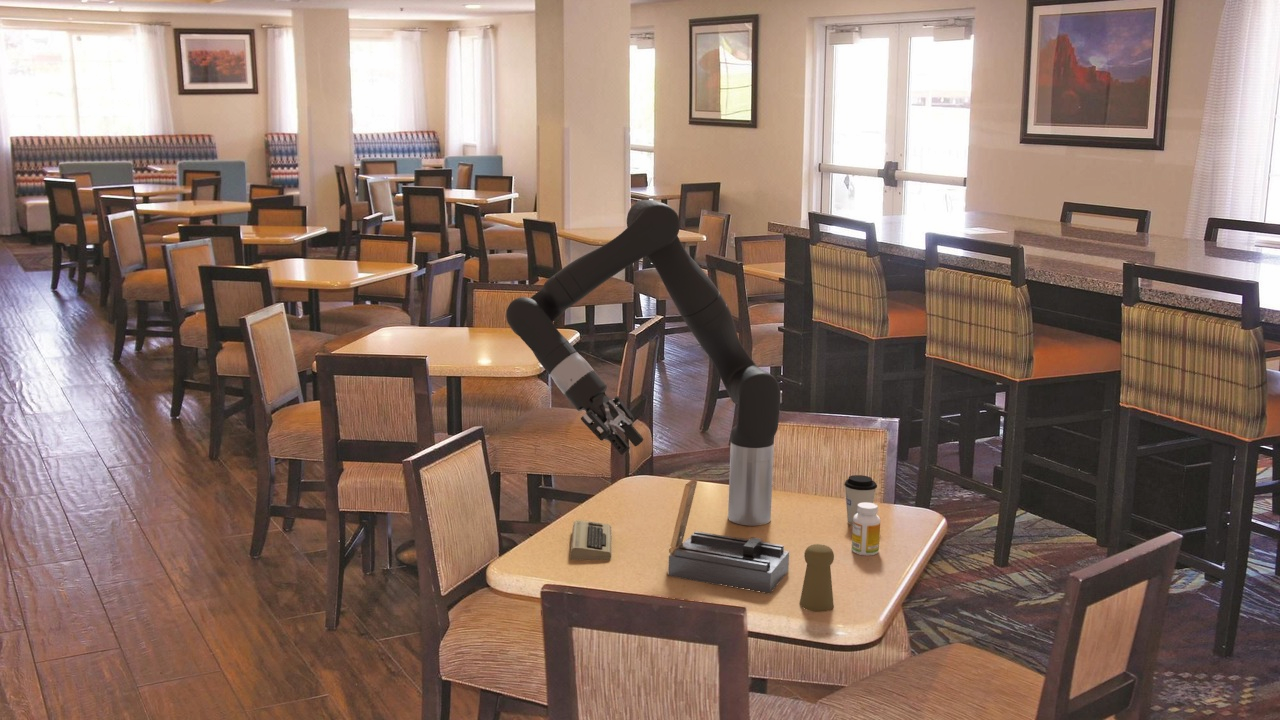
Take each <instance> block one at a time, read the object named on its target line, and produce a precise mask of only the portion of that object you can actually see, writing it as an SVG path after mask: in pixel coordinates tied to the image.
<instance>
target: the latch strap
mask: <svg viewBox="0 0 1280 720" xmlns="http://www.w3.org/2000/svg"><path fill="white" fill-rule="evenodd" d="M697 483H698V480H696V479H695V478H694V479H690V481H687V483H685V484H684V489H683V493H682V496H681V501H680V506H679V509H678V513H677V516H676V522H675V526H674V530H673V534H672V538H671V542H670V548H669V550H668V553H669V555H670V554H671V553H672V552H673V551H675V549H677V548H678V546H680V545H681V544H682V543H684V538H685V533H686V530H687V526H688V520H689V516H690V513H691V508H692V505H693V500H694V496H695V493H696V489H697Z"/></svg>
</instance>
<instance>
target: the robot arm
mask: <svg viewBox="0 0 1280 720" xmlns="http://www.w3.org/2000/svg"><path fill="white" fill-rule="evenodd" d="M626 216H627V217H626V228H625V230H623V231H622V232H621V233H620V234H618V236H616V237H615V238H613V239H612V240H610V241H608V242H607V243H605V244H603V245H601V246H600V247H598V248H596V249H594V250H592V251H590V252H587V253H585V254H584V255H582V256H580V257H578V258H576V259H575V260H573V261H572V262H570V263H569V264H567V265H566V266H564V267H563V268H562V269H560V270H558V271H557V272H556V273H555V274H554V275H551V276H550V277H549V278H548V279H546V281H545V282H544V283H543V285H542V287H541V289H540V290H539V291H537V292H536V293H535V294H533V295H531V296H530V297H527V296H526V297H525V296H520V297H518V298H514V299H513V300H512V301H511V302H510V303H509V304H508V306H507V309H506V314H505V315H506V316H505V319H506V322H507V324H508V325H509V327H510V328H511V331H512V332H513V333H514V334H515V335H517V336H518V337H520V339H521V340H522V341H523V343H525V344H526V346H528V348H529V349H530V350H531V351H532V352H533V355H534V357H535V358H536V360H537V361H538V362H539V364H540V365H541V366H542V367H543V369H544V370H545V371H546V373H548V375H549V376H550V377H551V379H552V380H553V382H554V384H555V385H556V386H557V388H558V389H559V390H560V391H561V393H562V394H563V395H564V396H565V398H567V400H568V401H569V402H570V404H571V405H572V406H573V407H574V408H575V409H576V411H578V412H579V411H580V412H581V411H585V413H584V414H583V415H581V417H580V420H581V422H583V424H584V425H585V426H586V427H587V428H588V429H589V430H590V431H591V432H592V433H593V434H594V436H596V437H597V439H598V440H600V441H604V440H605V441H606V442H610V444H611V445H612V447H614V448H615V450H616V451H617V452H618V453H619V454H620V455H621V456H623V455H625V454H626V453H627V452H628V451H629V450H631V449H630V446H629V444H628V442H627V441H625V439H624V438H623V437H622V436H621V435H620V433H618V432H617V429H616V428H618V429H619V430H620V431H622V432H623V434H624V435H625V437H626V438H627V439H628V440H629V442H630V443H631V444H632V445H633V446H634V447H638V446H639V445H640V444H641V443H642V442H643V441H644V437H643V436H642V435H641V434H640V432H638V430H637V429H636V428H635V427H634V423H633V422H634V421H635V417H634V416H633V414H632V412H631V411H630V410H629V409H628V407H627V406H626V405H625V403H624V402H623V401H622V399H621V398H620V397H619V396H617V395H616V396H615V397H614V398H613V399H611V398H610V397H609V396H608V395H607V394H606V391H607V390H608V384H606V383H605V381H604V380H603V379H602V377H600V375H599V374H598V373H597V372H596V371H595V370H594V368H593V367H592V366H591V364H590V363H589V362H588V361H587V360H586V359H585V358H584V357H583V356H582V355H581V354H579V352H578V351H577V350H576V349H575V348H574V346H573V345H572V344H571V343H570V341H569V340H568V339H567V338H566V337H565V336H564V335H563V334H562V333H561V332H560V331H559V330H558V328H557V327H556V326H555V324H554V322H555V321H556V320H557V319H558V318H559V317H560V316H561V315H562V314H563V313H564V312H565V311H566V310H568V309H569V308H571V307H572V306H574V305H575V304H576V303H578V302H580V301H581V300H582V299H583V298H585V297H586V296H588V295H589V294H590V293H592V292H593V291H595V289H597V288H598V287H599V286H601V285H602V284H604V283H605V282H607V281H608V280H609V279H611V278H612V277H614V276H615V275H616V274H618V273H620V272H621V271H623V270H624V269H626V268H628V267H630V266H632V265H633V264H634V263H636V262H639V261H640V260H641V259H644V258H646V257H647V258H648V260H649V261H650V263H651V264H652V265H653V267H654V269H655V270H656V272H657V274H658V276H659V277H660V279H661V281H662V283H663V285H664V287H665V288H666V291H667V292H668V295H669V296H670V298H671V300H672V302H673V304H674V305H675V307H676V309H677V311H678V312H679V315H680V316H681V318H682V319H683V321H684V322H685V324H686V325H687V328H688V329H689V330H690V332H691V333H692V335H693V336H694V337H695V339H696V340H697V342H698V344H699V345H700V347H702V349H703V350H704V352H705V353H706V355H707V356H708V358H710V360H711V362H712V363H713V365H714V367H715V369H716V371H717V373H718V376H719V377H720V380H721V381H722V384H723V386H724V388H725V390H726V392H727V394H728V396H729V398H730V400H731V401H732V402H733V403H734V404H735V405H736V406H738V413H737V414H738V415H737V424H736V425H735V426H733V427H732V428H731V430H730V453H729V482H728V507H727V508H728V509H727V510H728V511H727V512H728V513H727V519H728V520H729V521H730V522H732V523H734V524H737V525H740V526H753V527H755V526H763V525H766V524H768V523H770V522H771V520H772V519H771V518H772V500H773V499H772V497H773V474H774V448H775V445H774V444H775V436H776V433H777V432H778V429H779V422H780V421H779V420H780V408H781V388H780V384H779V382H778V380H777V378H776V377H775V376H774V375H772V374H771V373H770V372H767V371H765V370H764V369H762V368H761V367H759V366H758V365H757V364H756V363H755V362H754V360H753V359H752V358H751V357H750V354H748V352H747V351H746V349H745V348H744V346H743V344H742V341H740V339H739V336H738V335H739V334H738V332H737V327H736V324H735V321H734V318H733V315H732V312H731V310H730V307H729V306H728V304H727V302H726V300H725V298H724V297H723V296H722V294H721V293H720V291H719V289H718V288H717V286H716V285H715V283H714V282H713V281H712V280H711V278H710V277H709V275H707V273H706V272H705V271H704V270H703V269H702V267H700V265H699V264H698V263H697V262H696V261H695V260H694V259H693V258H692V256H691V255H690V254H689V253H688V251H687V250H686V249H685V247H684V245H683V244H682V241H681V240H680V237H679V235H678V234H679V232H680V229H681V228H680V227H681V221H680V216H679V215H678V213H677V212H676V209H673V208H672V207H671V206H669V205H668V204H666V203H663V202H661V201H658V200H654V199H642V200H639V201H637V202H636V203H634V204H633V205H632V206H631V207H630V209H628V212H627V215H626Z"/></svg>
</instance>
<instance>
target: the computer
mask: <svg viewBox="0 0 1280 720" xmlns="http://www.w3.org/2000/svg"><path fill="white" fill-rule="evenodd" d="M571 535H572V536H571V545H570V553H569V554H570V555H569V560H570V561H611V559H612V526H611V524H610V523H604V522H596V521H589V520H575V521H573V525H572V534H571Z"/></svg>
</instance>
